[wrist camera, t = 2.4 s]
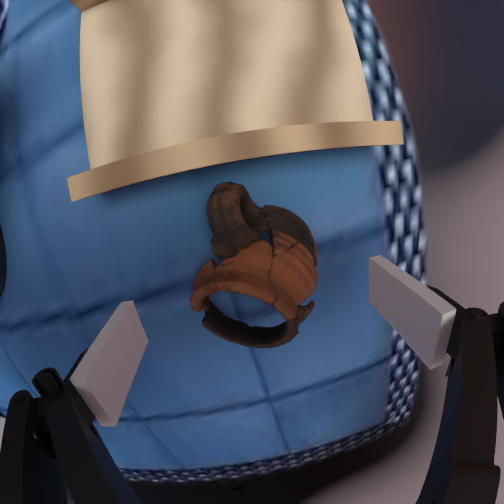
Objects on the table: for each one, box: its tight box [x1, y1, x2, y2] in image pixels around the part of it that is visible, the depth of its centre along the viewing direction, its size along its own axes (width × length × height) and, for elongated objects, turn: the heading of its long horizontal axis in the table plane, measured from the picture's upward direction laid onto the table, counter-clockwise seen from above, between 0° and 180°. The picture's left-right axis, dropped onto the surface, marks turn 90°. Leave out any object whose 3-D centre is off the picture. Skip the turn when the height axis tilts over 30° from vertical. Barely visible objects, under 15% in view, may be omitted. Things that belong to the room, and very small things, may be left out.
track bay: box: [67, 0, 404, 202], centre depth 15 cm, size 22×19×5 cm
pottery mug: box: [190, 182, 318, 348], centre depth 20 cm, size 12×10×8 cm
